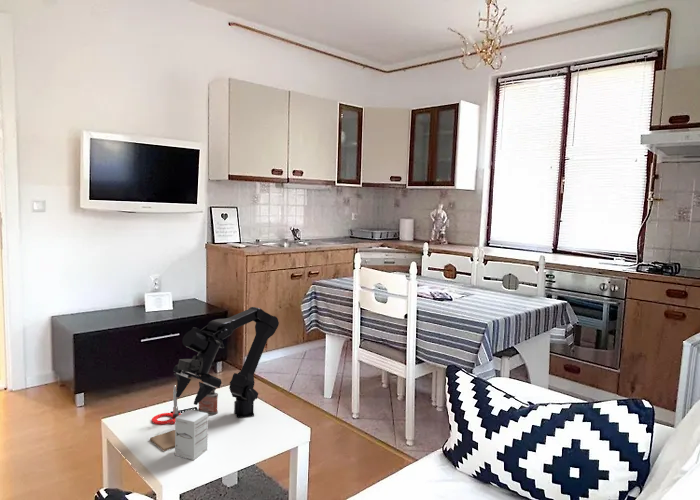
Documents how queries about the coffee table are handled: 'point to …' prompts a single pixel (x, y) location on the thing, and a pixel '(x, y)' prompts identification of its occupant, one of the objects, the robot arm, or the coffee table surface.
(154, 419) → the tow hook
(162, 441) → the walnut plate
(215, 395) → the red-brown boxy piece
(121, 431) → the coffee table surface
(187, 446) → the supplement box
